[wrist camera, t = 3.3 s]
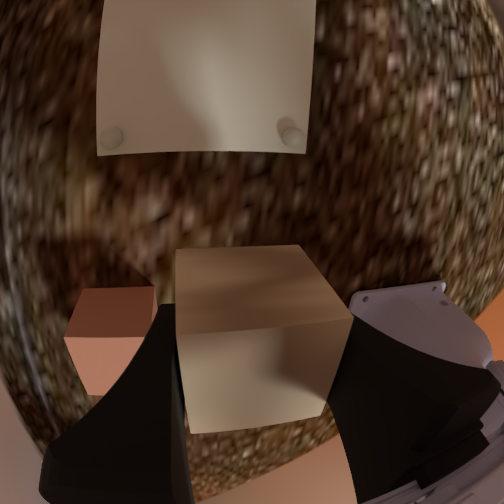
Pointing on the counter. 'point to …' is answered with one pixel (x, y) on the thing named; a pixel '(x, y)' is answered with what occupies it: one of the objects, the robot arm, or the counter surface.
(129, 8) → the base plate
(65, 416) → the counter surface
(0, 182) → the counter surface
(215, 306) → the maple brick
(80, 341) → the terracotta brick
